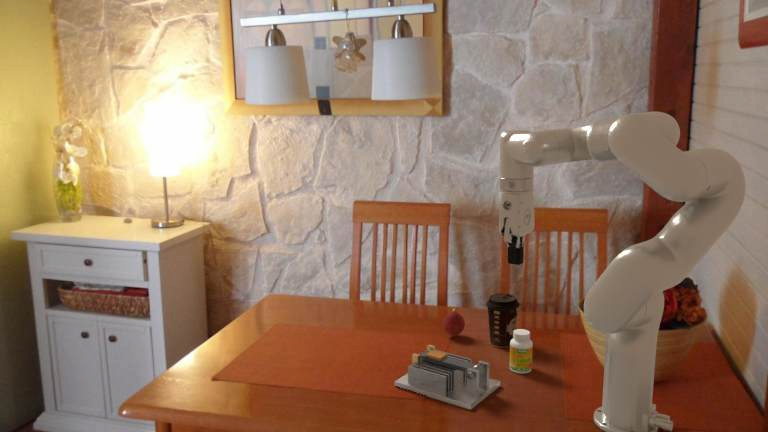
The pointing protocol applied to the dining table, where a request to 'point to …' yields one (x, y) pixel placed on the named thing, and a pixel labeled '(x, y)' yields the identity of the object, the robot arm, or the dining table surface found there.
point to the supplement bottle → (521, 352)
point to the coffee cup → (502, 319)
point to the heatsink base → (448, 381)
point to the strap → (451, 361)
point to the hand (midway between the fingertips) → (515, 263)
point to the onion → (454, 323)
